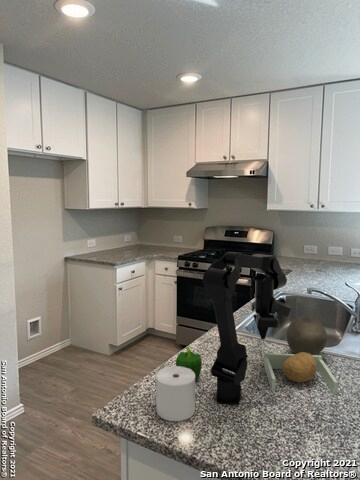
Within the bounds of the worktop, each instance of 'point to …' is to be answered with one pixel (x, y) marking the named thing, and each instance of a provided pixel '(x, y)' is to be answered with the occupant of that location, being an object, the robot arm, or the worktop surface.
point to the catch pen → (278, 359)
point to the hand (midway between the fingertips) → (262, 338)
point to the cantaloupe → (306, 335)
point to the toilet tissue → (175, 393)
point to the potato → (299, 367)
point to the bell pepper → (190, 361)
